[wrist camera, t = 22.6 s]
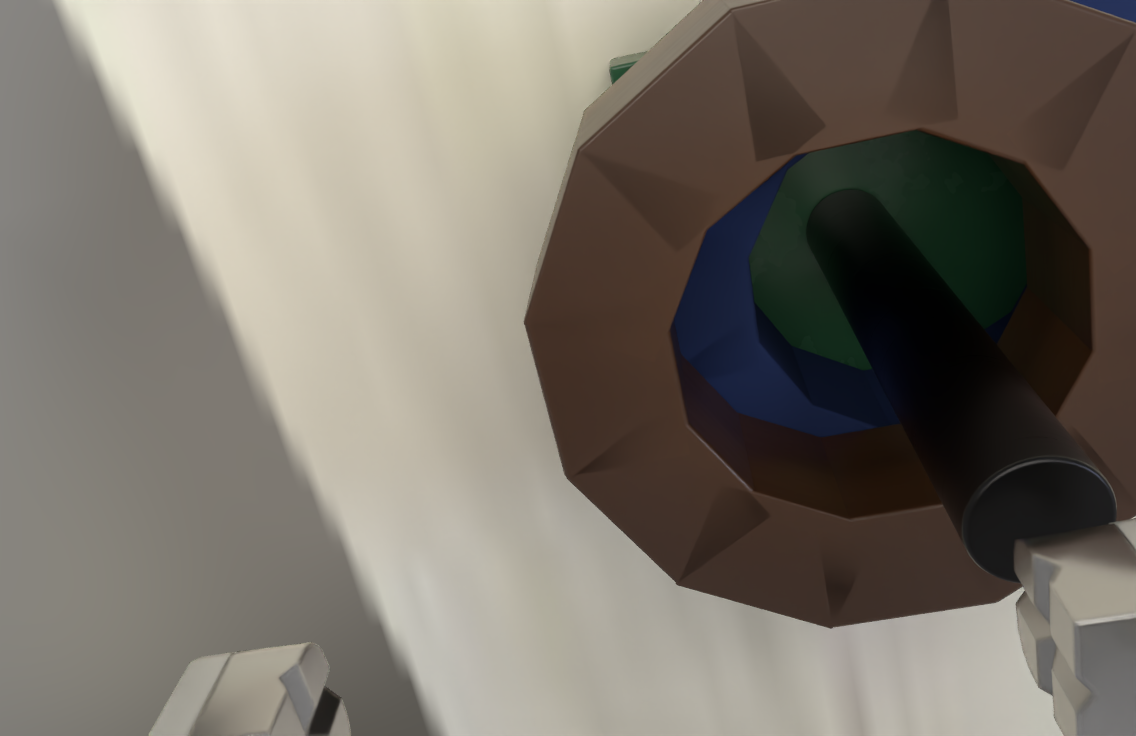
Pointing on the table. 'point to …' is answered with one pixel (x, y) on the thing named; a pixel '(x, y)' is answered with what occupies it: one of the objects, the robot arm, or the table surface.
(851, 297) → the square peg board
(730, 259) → the navy ring
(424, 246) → the table surface
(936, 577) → the walnut ring
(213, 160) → the table surface
